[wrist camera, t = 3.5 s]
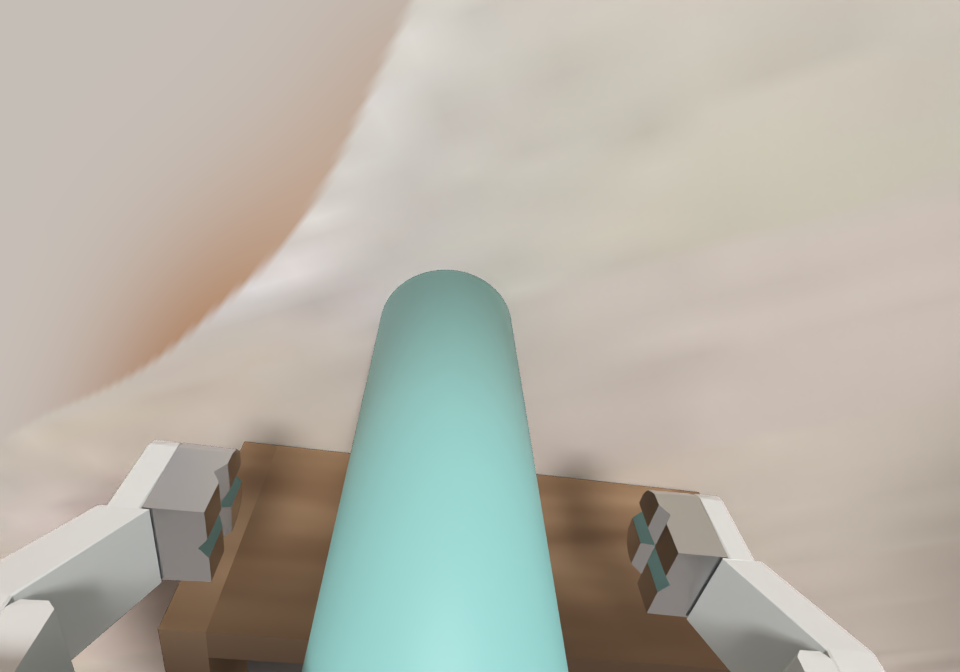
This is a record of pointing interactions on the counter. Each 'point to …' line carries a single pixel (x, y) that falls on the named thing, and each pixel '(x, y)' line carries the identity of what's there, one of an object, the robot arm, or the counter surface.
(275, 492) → the box
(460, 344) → the peg
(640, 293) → the counter surface
